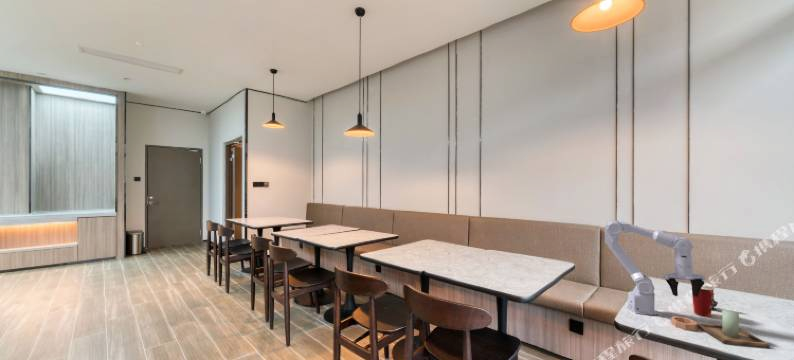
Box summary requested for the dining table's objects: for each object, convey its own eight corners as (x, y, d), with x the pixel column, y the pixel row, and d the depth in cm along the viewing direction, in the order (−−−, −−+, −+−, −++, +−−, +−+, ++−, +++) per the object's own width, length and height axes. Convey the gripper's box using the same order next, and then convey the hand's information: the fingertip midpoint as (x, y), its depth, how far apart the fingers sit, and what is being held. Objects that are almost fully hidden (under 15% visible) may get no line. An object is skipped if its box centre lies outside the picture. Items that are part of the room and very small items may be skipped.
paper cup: (719, 318, 135) (719, 287, 135) (698, 317, 137) (698, 286, 137) (705, 311, 143) (705, 281, 143) (686, 309, 145) (686, 280, 145)
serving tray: (723, 343, 115) (723, 340, 115) (696, 326, 129) (696, 322, 129) (769, 348, 112) (769, 344, 112) (736, 329, 126) (736, 326, 126)
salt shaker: (697, 306, 149) (697, 281, 149) (708, 305, 149) (708, 281, 149) (710, 311, 143) (710, 286, 143) (721, 311, 143) (721, 285, 143)
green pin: (728, 337, 119) (728, 314, 119) (719, 331, 123) (719, 309, 123) (742, 338, 118) (742, 315, 118) (732, 332, 122) (732, 310, 122)
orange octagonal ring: (679, 329, 126) (679, 323, 126) (667, 321, 133) (667, 315, 133) (701, 331, 124) (701, 325, 124) (688, 322, 132) (688, 317, 132)
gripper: (670, 267, 133) (672, 298, 133) (709, 267, 130) (711, 299, 130) (660, 263, 140) (661, 292, 140) (697, 263, 137) (699, 293, 137)
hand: (685, 295), depth 135 cm, fingers open, 7 cm apart
